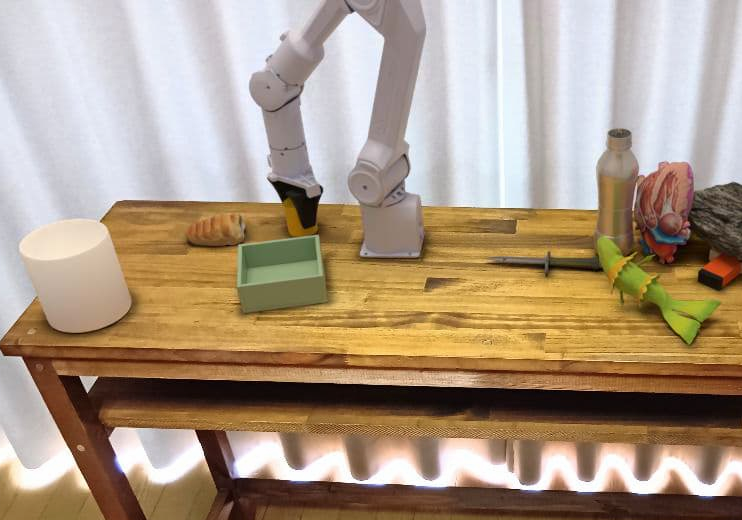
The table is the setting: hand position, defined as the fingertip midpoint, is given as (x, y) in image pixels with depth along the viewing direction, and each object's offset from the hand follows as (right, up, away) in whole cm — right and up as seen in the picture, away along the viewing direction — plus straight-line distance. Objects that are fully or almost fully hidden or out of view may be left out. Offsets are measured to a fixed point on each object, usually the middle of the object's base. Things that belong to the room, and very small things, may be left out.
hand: (301, 220), depth 149 cm
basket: (0, -12, -12) cm, 17 cm away
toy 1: (+55, -16, -28) cm, 64 cm away
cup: (-27, -16, -16) cm, 36 cm away
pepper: (0, -1, +1) cm, 2 cm away
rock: (+65, +4, -10) cm, 66 cm away
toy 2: (+64, -12, -15) cm, 67 cm away
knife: (+40, -7, -8) cm, 41 cm away
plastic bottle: (+51, -7, -7) cm, 51 cm away
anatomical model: (+58, +7, -13) cm, 60 cm away
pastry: (-13, -3, 0) cm, 14 cm away
